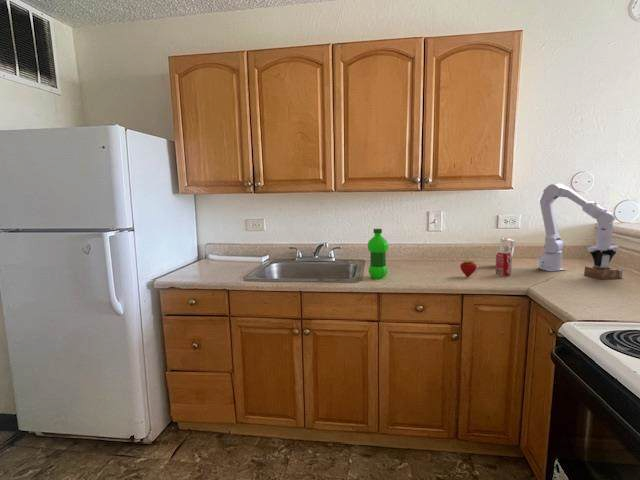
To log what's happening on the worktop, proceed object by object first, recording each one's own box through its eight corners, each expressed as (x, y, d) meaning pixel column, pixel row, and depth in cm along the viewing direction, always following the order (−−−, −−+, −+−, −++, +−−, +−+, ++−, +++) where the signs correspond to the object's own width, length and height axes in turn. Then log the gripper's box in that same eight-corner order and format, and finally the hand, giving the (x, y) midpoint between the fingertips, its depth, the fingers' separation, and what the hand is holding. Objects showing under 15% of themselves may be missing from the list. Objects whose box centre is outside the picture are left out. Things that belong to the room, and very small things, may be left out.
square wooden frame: (600, 279, 165) (601, 270, 164) (584, 274, 174) (584, 266, 173) (618, 277, 166) (618, 269, 165) (600, 273, 175) (601, 265, 174)
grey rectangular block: (600, 270, 167) (602, 255, 166) (593, 268, 171) (594, 254, 170) (608, 269, 168) (609, 255, 167) (600, 267, 172) (602, 253, 171)
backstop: (618, 278, 165) (619, 270, 165) (599, 272, 175) (600, 265, 175) (621, 277, 166) (622, 270, 165) (602, 272, 175) (603, 265, 175)
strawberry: (475, 279, 172) (476, 259, 170) (459, 277, 175) (459, 258, 174) (476, 276, 177) (477, 256, 175) (460, 275, 180) (461, 255, 179)
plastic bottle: (371, 274, 188) (370, 227, 184) (390, 276, 183) (390, 228, 179) (365, 279, 179) (364, 230, 175) (385, 281, 174) (385, 230, 170)
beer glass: (514, 265, 195) (516, 238, 193) (510, 268, 190) (512, 240, 188) (501, 264, 200) (502, 237, 198) (497, 266, 195) (498, 239, 193)
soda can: (510, 274, 179) (511, 250, 177) (511, 277, 172) (512, 253, 170) (495, 273, 182) (496, 250, 180) (495, 276, 175) (496, 252, 173)
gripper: (597, 239, 162) (595, 268, 164) (626, 237, 164) (623, 266, 166) (584, 237, 169) (582, 265, 171) (612, 235, 171) (609, 263, 173)
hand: (601, 265), depth 169 cm, fingers closed on grey rectangular block, 4 cm apart
